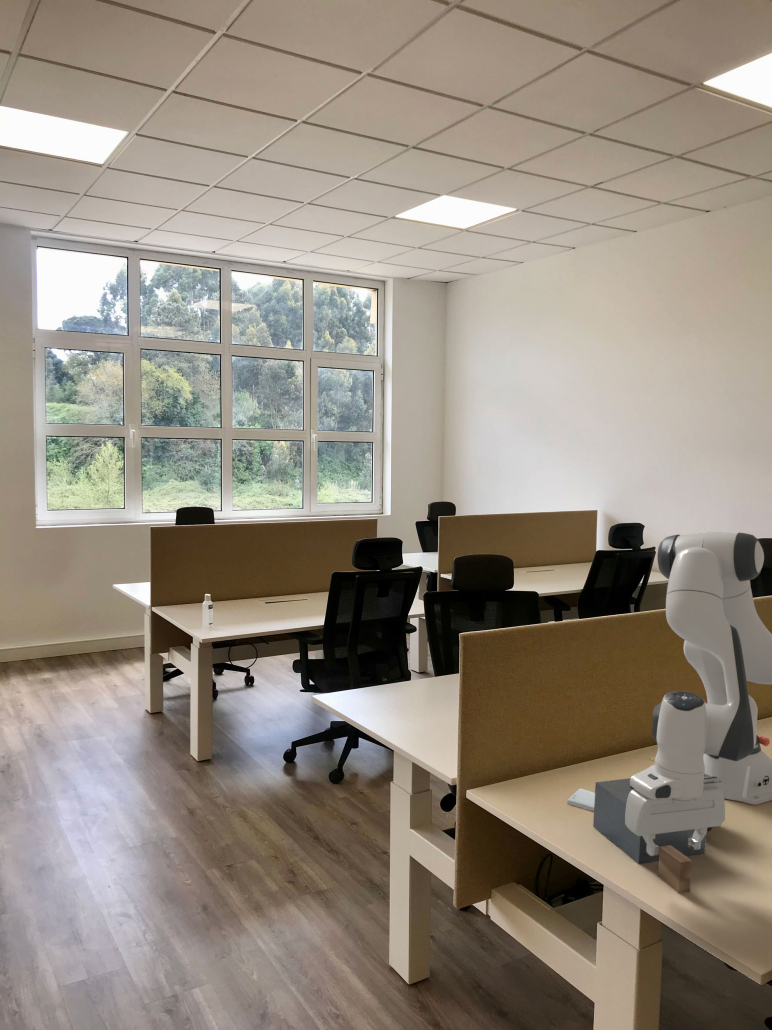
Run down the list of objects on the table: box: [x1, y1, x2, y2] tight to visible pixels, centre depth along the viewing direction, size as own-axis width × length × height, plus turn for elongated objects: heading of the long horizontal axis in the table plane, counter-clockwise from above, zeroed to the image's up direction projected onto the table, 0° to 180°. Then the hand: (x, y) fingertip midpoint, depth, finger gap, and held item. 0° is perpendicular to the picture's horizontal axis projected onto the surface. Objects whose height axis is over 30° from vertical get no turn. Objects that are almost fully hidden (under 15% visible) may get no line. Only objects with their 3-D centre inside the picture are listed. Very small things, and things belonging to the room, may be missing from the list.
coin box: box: [592, 777, 707, 865], centre depth 166 cm, size 16×16×10 cm
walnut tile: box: [657, 845, 693, 894], centre depth 149 cm, size 2×6×6 cm, turn 18°
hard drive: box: [566, 788, 595, 812], centre depth 183 cm, size 2×8×12 cm
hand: (673, 851), depth 149 cm, fingers open, 8 cm apart
